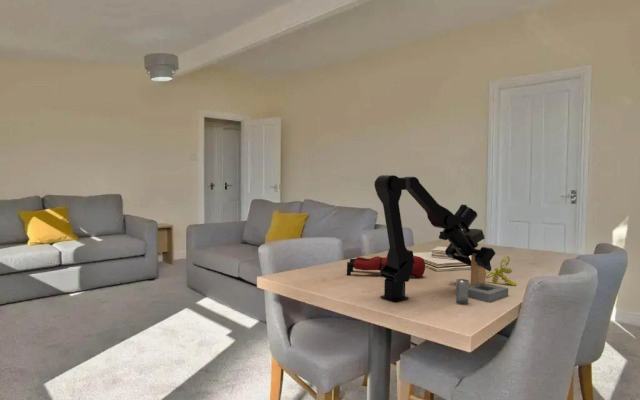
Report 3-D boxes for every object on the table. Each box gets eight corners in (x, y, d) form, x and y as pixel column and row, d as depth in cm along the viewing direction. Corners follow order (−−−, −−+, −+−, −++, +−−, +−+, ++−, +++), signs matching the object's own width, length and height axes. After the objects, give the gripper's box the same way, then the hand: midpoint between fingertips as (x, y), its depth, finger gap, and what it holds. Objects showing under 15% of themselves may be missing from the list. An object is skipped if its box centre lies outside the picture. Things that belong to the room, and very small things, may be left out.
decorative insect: (496, 297, 158) (478, 275, 161) (498, 295, 160) (480, 273, 163) (526, 278, 152) (507, 255, 155) (527, 276, 155) (508, 253, 158)
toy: (342, 282, 160) (425, 287, 154) (342, 260, 160) (425, 263, 153) (353, 267, 188) (424, 270, 181) (353, 248, 187) (424, 250, 180)
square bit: (477, 288, 151) (478, 254, 150) (470, 286, 154) (471, 252, 153) (484, 287, 152) (485, 253, 152) (477, 285, 155) (478, 252, 155)
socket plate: (488, 302, 134) (489, 294, 134) (460, 295, 142) (460, 287, 142) (508, 295, 142) (508, 288, 142) (480, 289, 150) (480, 282, 150)
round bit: (463, 305, 131) (464, 282, 131) (453, 302, 134) (454, 280, 134) (470, 303, 134) (471, 280, 133) (460, 300, 136) (460, 278, 136)
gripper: (492, 224, 142) (515, 255, 147) (452, 219, 158) (473, 246, 164) (473, 249, 139) (497, 280, 144) (434, 241, 156) (457, 269, 161)
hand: (481, 267), depth 153 cm, fingers open, 8 cm apart
